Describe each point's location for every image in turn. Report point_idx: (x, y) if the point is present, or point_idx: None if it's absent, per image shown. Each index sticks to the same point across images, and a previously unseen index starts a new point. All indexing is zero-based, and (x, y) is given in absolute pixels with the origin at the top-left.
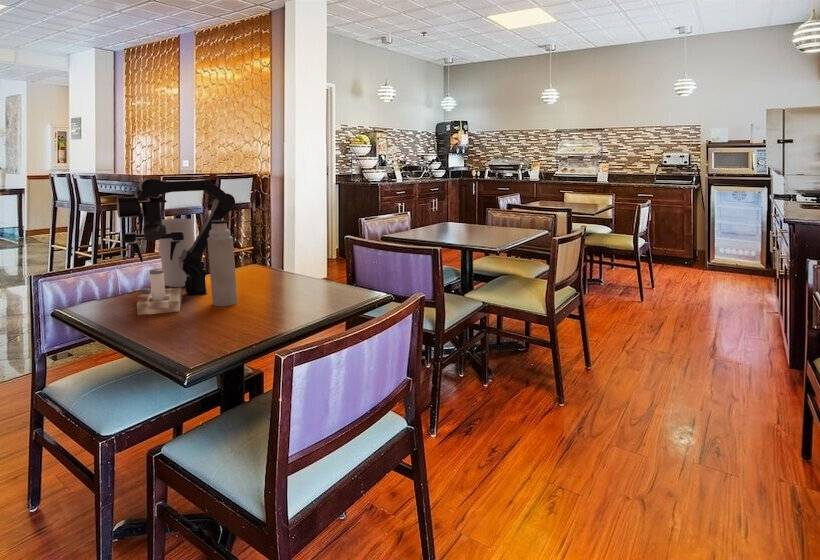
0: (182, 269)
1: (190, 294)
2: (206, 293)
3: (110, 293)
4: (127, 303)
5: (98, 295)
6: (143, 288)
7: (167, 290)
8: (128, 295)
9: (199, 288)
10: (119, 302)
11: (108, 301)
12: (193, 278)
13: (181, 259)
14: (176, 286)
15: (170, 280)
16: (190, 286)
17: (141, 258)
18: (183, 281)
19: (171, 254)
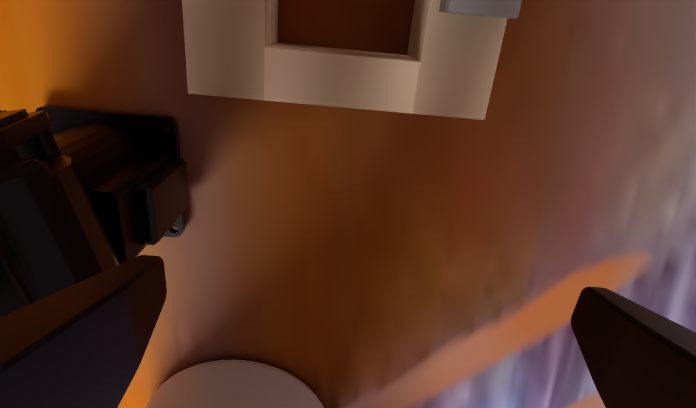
0: (85, 198)
1: (152, 114)
2: (40, 109)
3: None
4: (575, 57)
5: None
6: (507, 9)
7: (298, 50)
8: (527, 281)
9: (64, 131)
10: (613, 114)
11: (662, 174)
12: (28, 113)
13: (5, 302)
14: (260, 363)
15: (286, 404)
16: (125, 156)
17: (639, 315)
18: (210, 381)
19: (67, 307)
